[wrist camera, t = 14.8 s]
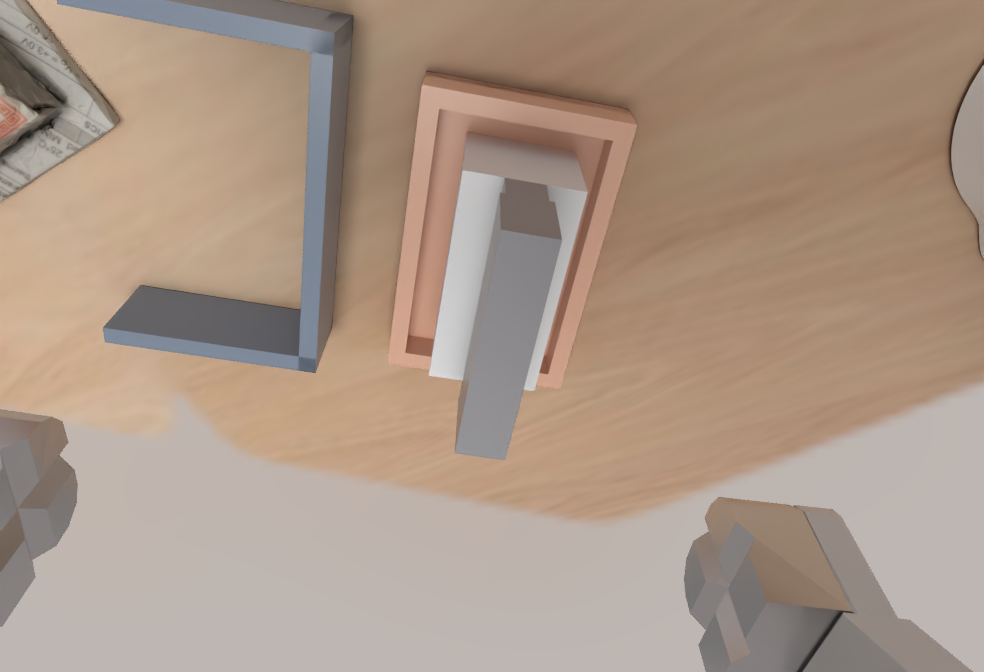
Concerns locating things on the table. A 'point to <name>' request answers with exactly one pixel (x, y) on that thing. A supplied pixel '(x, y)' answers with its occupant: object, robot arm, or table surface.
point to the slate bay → (283, 331)
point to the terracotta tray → (434, 186)
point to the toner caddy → (503, 280)
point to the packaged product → (41, 100)
